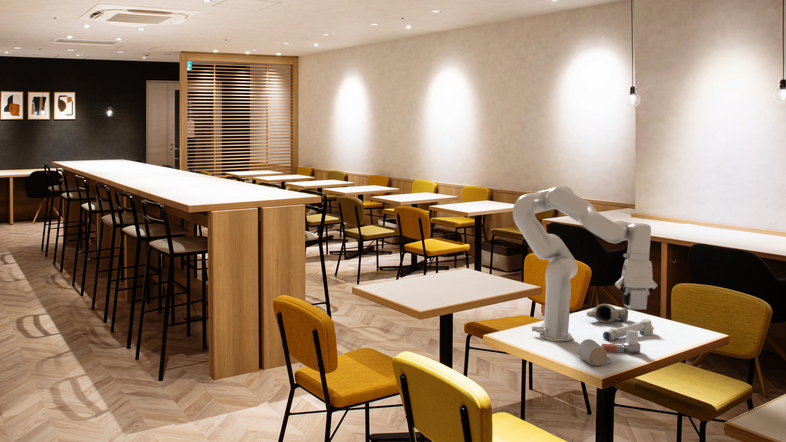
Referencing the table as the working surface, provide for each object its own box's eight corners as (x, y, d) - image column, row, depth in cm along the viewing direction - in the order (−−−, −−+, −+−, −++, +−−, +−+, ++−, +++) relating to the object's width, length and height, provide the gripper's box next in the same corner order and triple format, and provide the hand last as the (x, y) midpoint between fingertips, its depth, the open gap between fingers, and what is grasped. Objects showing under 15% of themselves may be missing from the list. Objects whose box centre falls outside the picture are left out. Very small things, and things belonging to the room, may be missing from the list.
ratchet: (605, 354, 223) (607, 333, 222) (599, 348, 229) (600, 327, 228) (642, 354, 223) (644, 333, 222) (635, 348, 229) (637, 328, 228)
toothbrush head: (601, 329, 240) (646, 314, 251) (601, 345, 242) (646, 329, 252) (611, 333, 236) (656, 318, 246) (611, 349, 237) (656, 333, 248)
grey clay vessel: (598, 336, 270) (591, 325, 258) (590, 318, 275) (583, 307, 263) (633, 321, 266) (628, 310, 254) (624, 303, 271) (618, 292, 259)
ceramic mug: (589, 368, 208) (591, 346, 207) (576, 359, 216) (578, 339, 215) (616, 366, 211) (618, 345, 210) (602, 358, 219) (604, 338, 218)
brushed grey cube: (630, 309, 221) (631, 290, 220) (623, 304, 227) (624, 286, 226) (646, 309, 221) (647, 290, 220) (639, 305, 227) (640, 286, 226)
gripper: (618, 258, 218) (615, 307, 220) (666, 259, 218) (662, 307, 220) (610, 254, 225) (607, 301, 227) (656, 255, 225) (653, 302, 228)
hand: (634, 304), depth 224 cm, fingers closed on brushed grey cube, 6 cm apart
